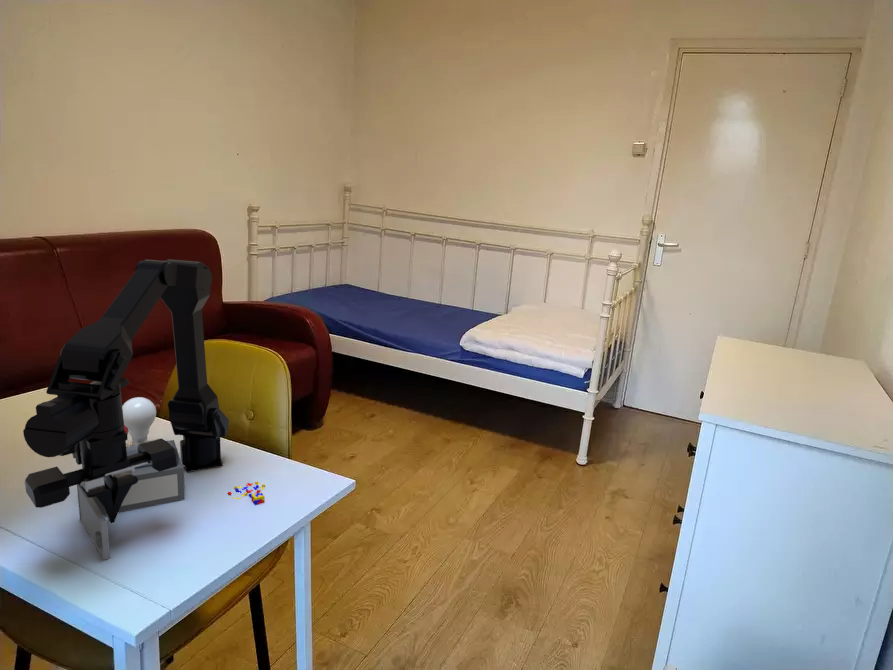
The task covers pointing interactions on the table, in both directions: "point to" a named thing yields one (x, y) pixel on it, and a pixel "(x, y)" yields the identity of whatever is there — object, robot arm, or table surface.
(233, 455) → the table surface
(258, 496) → the building blocks
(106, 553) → the side door
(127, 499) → the camera box
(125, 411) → the lightbulb
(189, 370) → the robot arm
